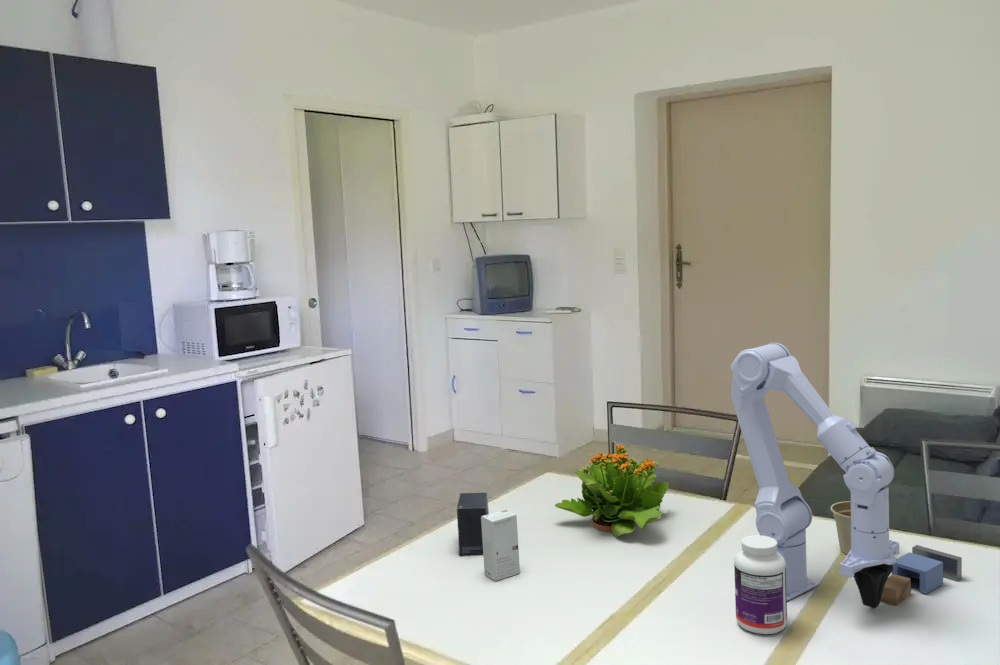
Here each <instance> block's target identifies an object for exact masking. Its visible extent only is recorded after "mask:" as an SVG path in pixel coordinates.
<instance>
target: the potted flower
mask: <svg viewBox="0 0 1000 665" xmlns="http://www.w3.org/2000/svg"><path fill="white" fill-rule="evenodd" d="M627 451H628V450H627V448H625V446H624V445H623V444H620V445H619V444H616V445H615V451H614V452H615V453H613V454H612V453H605V454H604V453H603V452H602V453H601V452H598V453H596V454H595V455H594V456H592V457H590V459H589V460H588V463H591V466H589V465H588V464H586V466H585V467H584V466H583V467H582V468H579V469H577V468H576V469H574V472H575V474H576V475H577V477H578V478H579V479H580V480H581V481H582V482H581V489H582V490H581V494H582V496H581V498H579V497H576V499H577V500H576V499H574V498H571V499H570V500H569V499H562V500H561V502H557V503H555V504H554V507H556V508H557V509H561V510H565V511H567V512H570V513H574V514H576V515H579V516H580V517H583V518H584V517H585V518H586V517H589V516H591V515H593V516H592V517H591V523H592V525H593V526H594V528H595V529H597V530H601V531H605V532H608V533H609V532H610V533H612V534H613V536H614V537H616V538H619V537H620V536H621V535H622V536H623V535H625V534H626V535H627V534H631V533H633V532H634V531H635V530H636V526H635V525H637V526H638V527H639V528H640V529H641V530H644V529H645V527H647V526H648V525H649V524H650V523H652V522H654V521H657V520H658V519H660V518H662V516H663V511H661V510H660V509H661V503H663V498H664V497H665V495H666V493H667V490H669V482H667V481H664V482H663V481H659V482H657V483H655V481H656V478H657V477H658V476H657V474H656V471H657V469H656V467H658V466H659V465H660V464H661V462H659V461H657V460H652V459H651V460H650V459H649V458H645V459H643V460H641V461H640V462H639V463H638V461H636V458H634V457H633V456H631V457H630V459H629V454H628V453H626V452H627ZM652 483H653V484H652Z"/></svg>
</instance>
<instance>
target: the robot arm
mask: <svg viewBox="0 0 1000 665" xmlns="http://www.w3.org/2000/svg"><path fill="white" fill-rule="evenodd" d="M730 370H731V373H732V381H731V382H732V383H731V390H730V397H731V402H732V404H733V408H734V410H735V416H736V417H737V420H738V424H739V427H740V431H741V434H742V437H743V441H744V443H745V447H746V449H747V453H748V457H749V459H750V460H749V461H750V463H751V466H752V469H753V472H754V476H755V479H756V482H757V486H758V489H759V490H758V493H757V496H756V499H755V502H754V507H755V513H756V517H755V526H756V531H757V532H758V535H762V536H768V537H771V538H773V539H775V540H776V541H777V553H779V554H780V555H781V556H782V557H783V558H784V560H785V562H786V595H787V601H790V600H792V599H794V598H796V597H798V596H799V595H802V594H804V593H805V592H808V591H809V590H812V589H813V588H815V587H817V586H818V582H816V581H813V580H810V579H808V578H807V577H808V576H807V574H808V573H807V571H808V570H807V566H808V565H807V536H806V535H807V534H806V533H807V530H806V529H807V528H809V526H810V525H811V524H812V522H813V512H812V509H811V506H809V504H808V503H807V502H806V501H805V499H804V497H803V496H802V492H801V489H800V488H798V487H797V486H796V485H794V484H793V483H792V482H790V479H789V475H788V472H787V468H786V465H785V462H784V459H783V456H782V452H781V450H780V447H779V446H780V445H779V444H778V441H777V437H776V433H775V430H774V426H773V424H772V420H771V417H770V414H769V410H768V408H767V405H766V401H765V397H766V396H767V395H768V392H769V391H770V390H773V391H777V392H779V391H780V392H783V393H785V394H786V395H787V396H788V397H789V398H790V400H792V401H793V403H795V405H796V406H797V407H798V408H799V409H800V410H801V412H803V414H805V416H807V418H808V419H809V420H810V421H811V422H812V423H813V424H814V426H815V427H816V428H817V429H816V438H817V440H818V441H819V442H820V443H821V445H822V446H823V447H824V449H825V450H826V451H827V452H828V454H829V455H830V456H831V457H832V458H833V459H834V461H835V462H836V463H837V465H839V467H840V468H841V469H842V470H843V471H844V472H845V473H844V474H843V481H844V483H845V485H846V487H847V489H848V490H849V491H850V501H851V550H850V551H849V553H848V554H846V556H845V558H844V560H843V561H841V562H840V563H839V575H840V576H844V577H847V578H849V579H852V578H853V579H854V581H855V583H856V585H857V588H858V592H859V595H860V598H861V602H862V605H863V606H866V607H869V608H871V609H876V608H878V607H879V606H880V603H881V602H880V600H881V596H882V592H883V589H884V586H885V583H886V581H887V579H888V577H889V576H891V575H892V571H893V565H892V564H894V563H896V559H897V558H896V557H894V555H895V556H897V555H898V554H900V542H899V541H894V540H891V539H890V514H889V513H890V501H889V500H890V499H889V497H890V496H889V493H890V492H889V491H890V490H889V485H890V483H891V482H892V480H894V477H895V468H894V466H893V463H892V462H891V460H890V458H889V456H887V455H886V454H884V453H883V452H879V451H877V450H876V449H875V447H873V446H872V447H871V446H870V445H869V444H868V443H867V441H866V440H865V439H864V438H863V436H861V435H860V433H859V432H858V431H857V428H858V426H857V425H856V424H855V423H854V422H853V421H849V420H848V419H847V418H846V417H842V416H838V415H835V414H834V413H833V411H832V410H831V409H830V407H829V406H828V405H827V403H826V402H825V401H824V400H823V398H822V397H821V396H820V394H819V392H818V391H817V390H816V389H815V387H814V386H813V384H811V382H810V381H809V379H808V378H807V376H806V375H805V374H804V373H803V371H802V369H801V367H800V364H799V361H798V359H796V358H795V356H794V355H791V353H790V351H789V349H788V348H787V347H786V346H784V345H783V344H782V343H779V342H769V343H766V344H765V345H761V346H757V347H754V348H753V347H752V348H747V349H743V350H741V351H740V352H739V353H738V354H737V355H736V356H735V358H734V360H733V361H732V363H731V364H730Z"/></svg>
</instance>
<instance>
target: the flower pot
mask: <svg viewBox="0 0 1000 665" xmlns="http://www.w3.org/2000/svg"><path fill="white" fill-rule="evenodd" d="M829 509H830V511H831V513H832V514H833V518H834V521H835V526H836V533H837V538H838V545H839V549H840V551H841V552H842V553H844V554H846V555H848V553H849V551H850V550H851V500H849V501H847V500H846V501H838V502H835V503H833V504H832V505H831V506H830V508H829Z"/></svg>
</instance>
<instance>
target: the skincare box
mask: <svg viewBox="0 0 1000 665" xmlns="http://www.w3.org/2000/svg"><path fill="white" fill-rule="evenodd" d="M481 524H482V541H483V554H482V555H483V567H484V568H483V569H484V570H483V571H484V572H483V573H484V576H486V577H488V578H489V577H490V578H489V579H491V580H492V579H493V580H492V581H494V582H496V581H501V580H503V579H507V578H510V577H513V576H516V575H519V574H520V573H521V570H520V569H521V568H520V567H521V566H520V552H519V551H520V550H519V549H520V548H519V535H518V520H517V514H516V513H514V512H511V511H509V510H507V509H504V510H499V511H495V512H491V513H489V514H488V515H484V516H481Z"/></svg>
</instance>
